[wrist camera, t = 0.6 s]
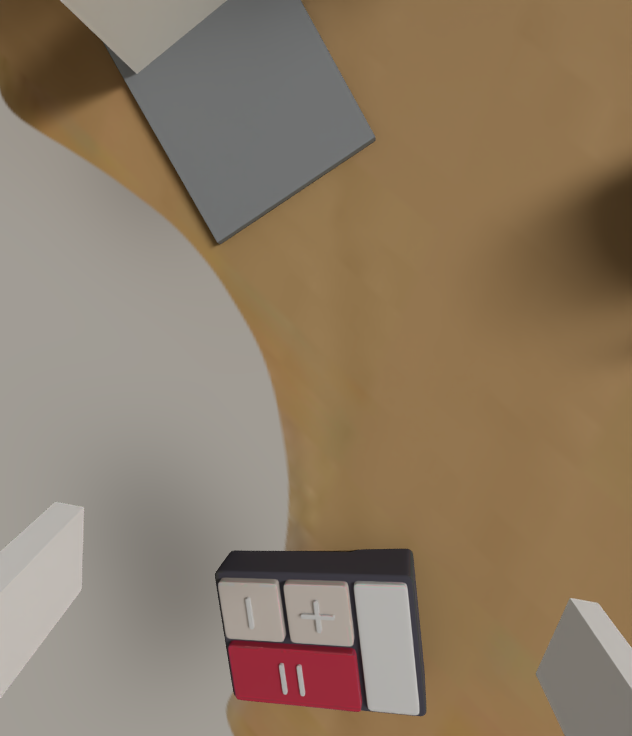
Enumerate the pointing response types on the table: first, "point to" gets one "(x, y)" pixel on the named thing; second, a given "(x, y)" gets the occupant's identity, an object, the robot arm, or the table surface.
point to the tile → (141, 24)
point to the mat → (249, 110)
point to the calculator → (324, 629)
